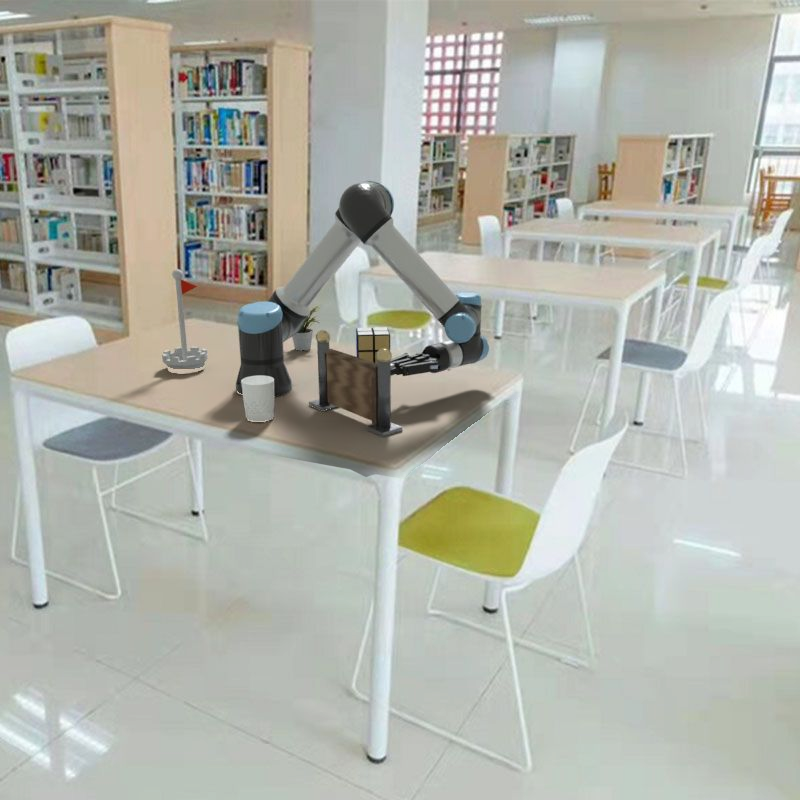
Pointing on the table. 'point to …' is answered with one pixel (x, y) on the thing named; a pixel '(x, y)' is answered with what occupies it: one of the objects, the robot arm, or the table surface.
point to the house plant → (305, 333)
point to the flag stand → (183, 335)
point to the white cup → (258, 397)
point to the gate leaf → (352, 384)
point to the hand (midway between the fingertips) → (372, 374)
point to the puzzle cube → (371, 342)
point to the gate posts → (383, 387)
